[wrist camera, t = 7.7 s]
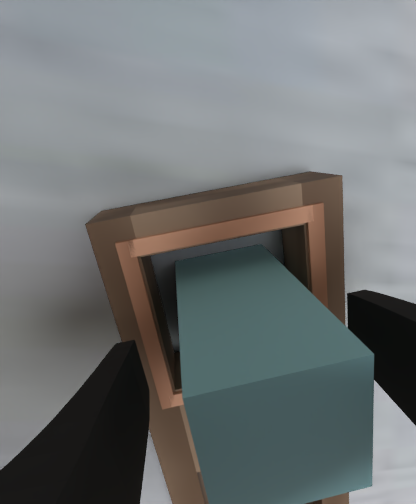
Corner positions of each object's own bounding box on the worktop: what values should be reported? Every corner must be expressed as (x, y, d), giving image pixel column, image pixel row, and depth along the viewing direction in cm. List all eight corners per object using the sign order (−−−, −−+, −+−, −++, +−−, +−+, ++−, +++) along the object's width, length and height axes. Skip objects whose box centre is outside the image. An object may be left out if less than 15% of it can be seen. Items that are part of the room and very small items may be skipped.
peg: (191, 336, 15) (214, 527, 7) (175, 261, 13) (182, 398, 6) (269, 319, 15) (372, 486, 7) (261, 244, 14) (374, 353, 6)
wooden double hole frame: (191, 520, 19) (194, 576, 16) (101, 210, 12) (84, 225, 10) (327, 485, 19) (350, 534, 17) (310, 171, 13) (344, 175, 10)
